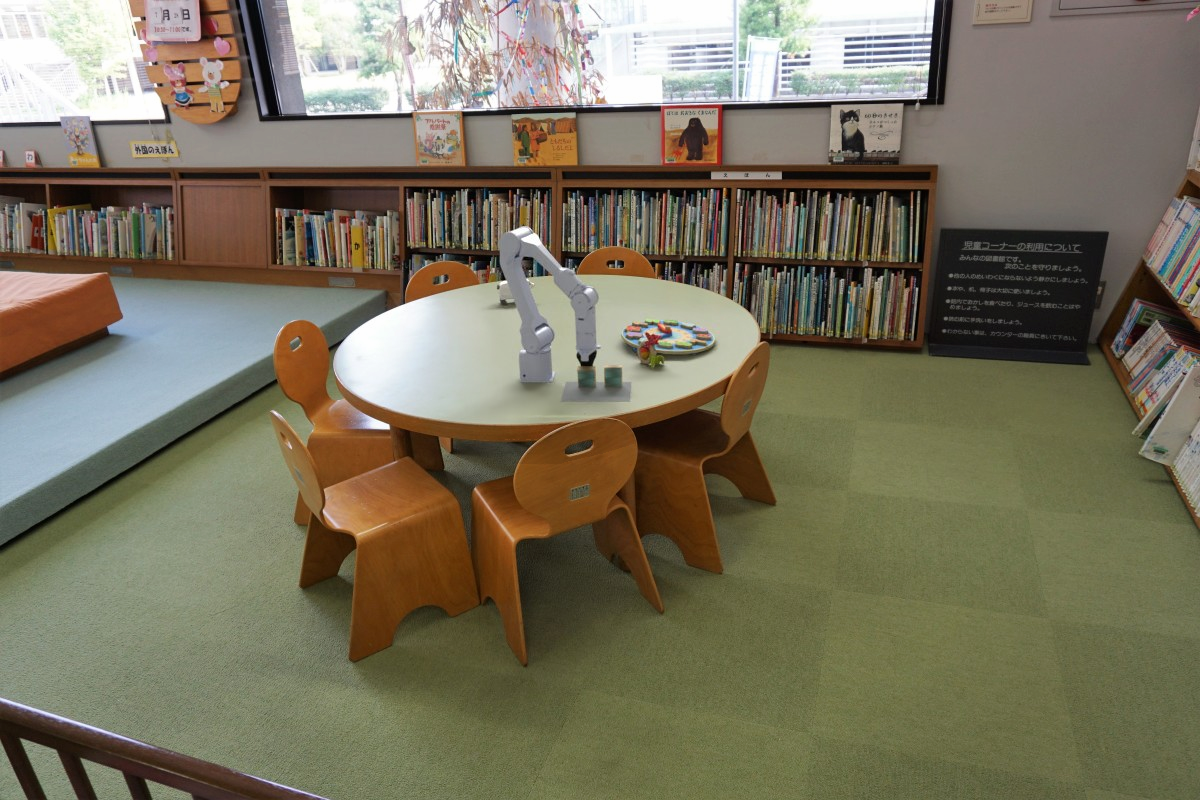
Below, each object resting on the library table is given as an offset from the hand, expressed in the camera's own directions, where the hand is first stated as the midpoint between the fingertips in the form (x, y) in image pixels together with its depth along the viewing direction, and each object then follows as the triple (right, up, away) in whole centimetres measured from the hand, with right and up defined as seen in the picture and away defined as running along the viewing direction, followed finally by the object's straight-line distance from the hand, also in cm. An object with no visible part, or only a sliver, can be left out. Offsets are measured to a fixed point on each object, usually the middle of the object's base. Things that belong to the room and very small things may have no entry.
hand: (587, 376), depth 232 cm
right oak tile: (+7, -3, -1) cm, 8 cm away
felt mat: (+3, -5, -4) cm, 7 cm away
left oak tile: (0, -3, 0) cm, 3 cm away
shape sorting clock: (+26, +11, +33) cm, 44 cm away
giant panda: (-29, +30, +80) cm, 91 cm away
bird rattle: (+18, +3, +14) cm, 24 cm away
